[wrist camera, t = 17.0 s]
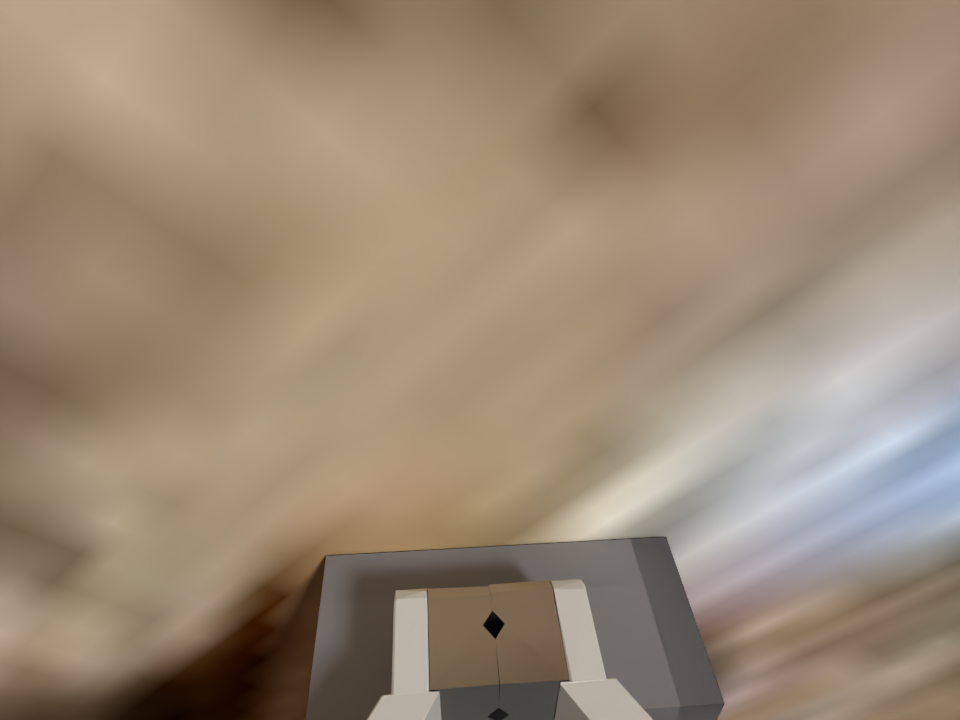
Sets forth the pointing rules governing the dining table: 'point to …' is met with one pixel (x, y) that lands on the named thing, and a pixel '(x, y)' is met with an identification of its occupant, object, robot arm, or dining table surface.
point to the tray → (599, 564)
